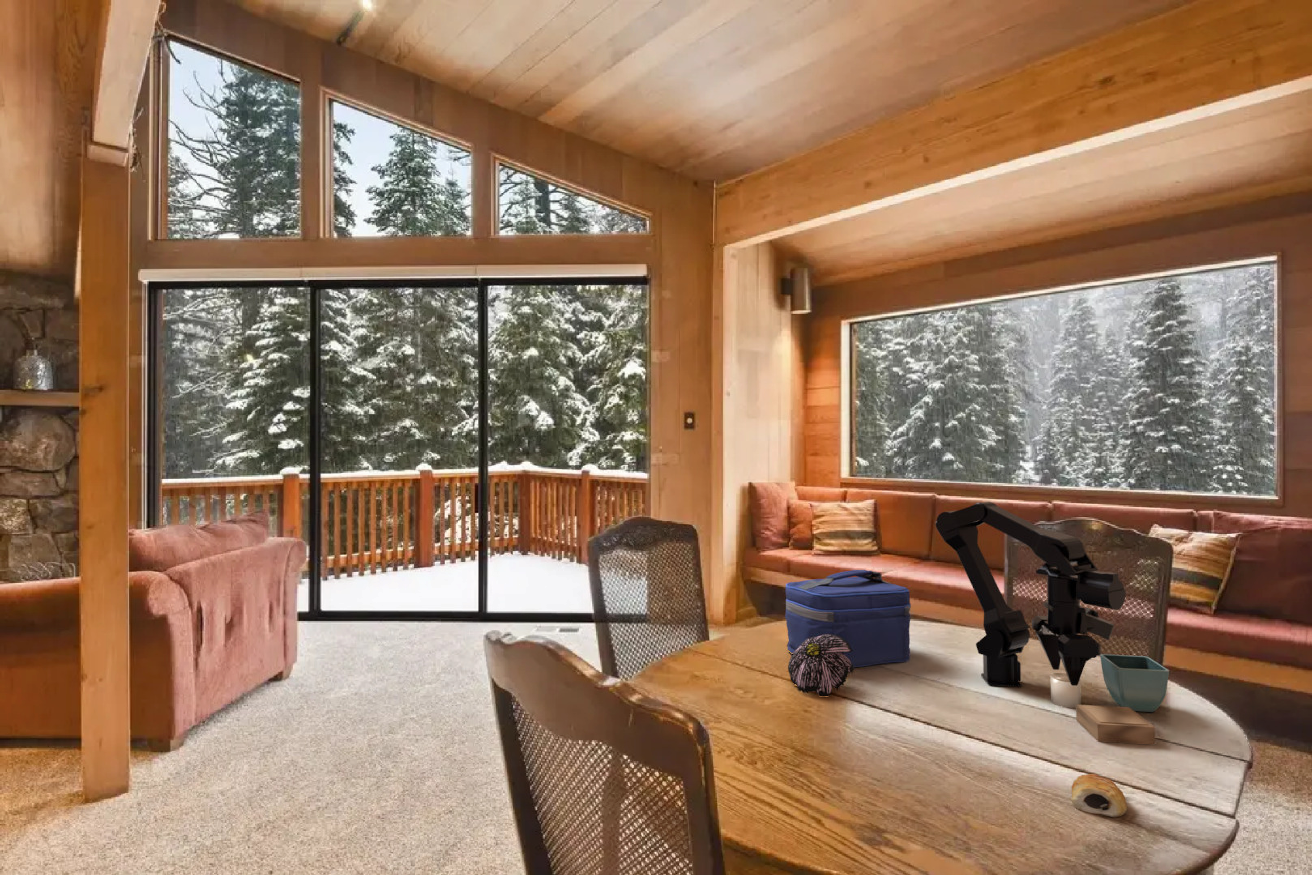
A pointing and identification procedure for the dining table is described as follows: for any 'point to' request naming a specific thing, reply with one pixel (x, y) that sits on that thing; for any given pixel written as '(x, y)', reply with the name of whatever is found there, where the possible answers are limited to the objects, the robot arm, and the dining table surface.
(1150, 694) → the flower pot
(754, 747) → the dining table surface
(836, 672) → the decorative flower
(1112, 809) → the pastry
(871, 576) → the lunch bag
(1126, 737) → the stand
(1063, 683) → the jar
